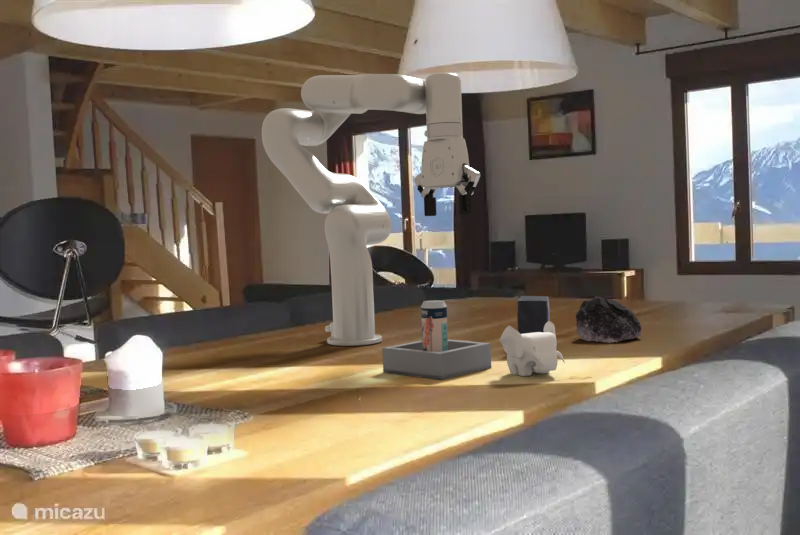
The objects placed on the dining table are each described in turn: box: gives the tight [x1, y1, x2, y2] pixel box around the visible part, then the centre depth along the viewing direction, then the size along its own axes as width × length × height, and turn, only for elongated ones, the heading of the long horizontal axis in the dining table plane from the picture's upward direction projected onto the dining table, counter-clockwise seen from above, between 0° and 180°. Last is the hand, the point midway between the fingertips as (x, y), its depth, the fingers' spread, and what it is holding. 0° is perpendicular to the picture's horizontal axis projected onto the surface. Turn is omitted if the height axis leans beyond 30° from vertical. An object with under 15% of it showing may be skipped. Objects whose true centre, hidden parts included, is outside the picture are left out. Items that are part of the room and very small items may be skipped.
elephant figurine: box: [499, 320, 566, 377], centre depth 150 cm, size 10×12×9 cm
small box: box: [516, 295, 551, 334], centre depth 181 cm, size 11×6×10 cm, turn 168°
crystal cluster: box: [575, 296, 642, 344], centre depth 190 cm, size 13×14×10 cm
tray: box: [381, 339, 492, 381], centre depth 158 cm, size 14×14×4 cm
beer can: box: [420, 299, 449, 352], centre depth 158 cm, size 5×5×12 cm
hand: (447, 215), depth 182 cm, fingers open, 9 cm apart
